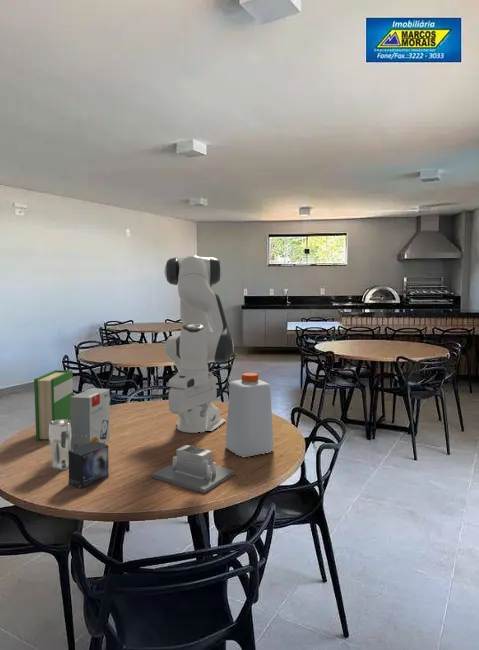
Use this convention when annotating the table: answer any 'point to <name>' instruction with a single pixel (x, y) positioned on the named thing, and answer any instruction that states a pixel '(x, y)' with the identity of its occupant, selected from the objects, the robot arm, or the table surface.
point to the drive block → (193, 460)
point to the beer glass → (60, 443)
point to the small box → (88, 464)
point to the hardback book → (52, 400)
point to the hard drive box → (90, 417)
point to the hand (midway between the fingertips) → (194, 420)
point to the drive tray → (194, 477)
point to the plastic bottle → (249, 417)
